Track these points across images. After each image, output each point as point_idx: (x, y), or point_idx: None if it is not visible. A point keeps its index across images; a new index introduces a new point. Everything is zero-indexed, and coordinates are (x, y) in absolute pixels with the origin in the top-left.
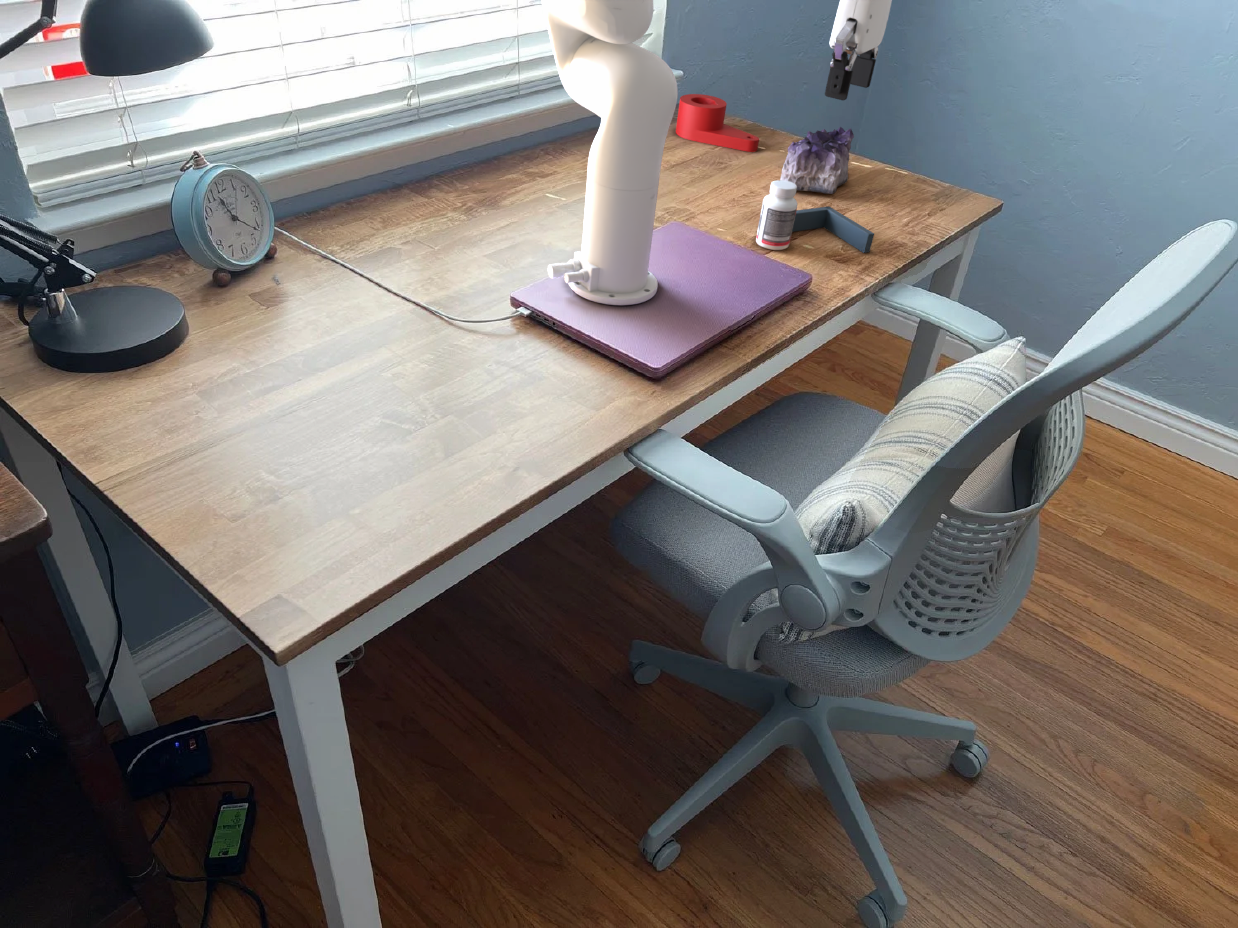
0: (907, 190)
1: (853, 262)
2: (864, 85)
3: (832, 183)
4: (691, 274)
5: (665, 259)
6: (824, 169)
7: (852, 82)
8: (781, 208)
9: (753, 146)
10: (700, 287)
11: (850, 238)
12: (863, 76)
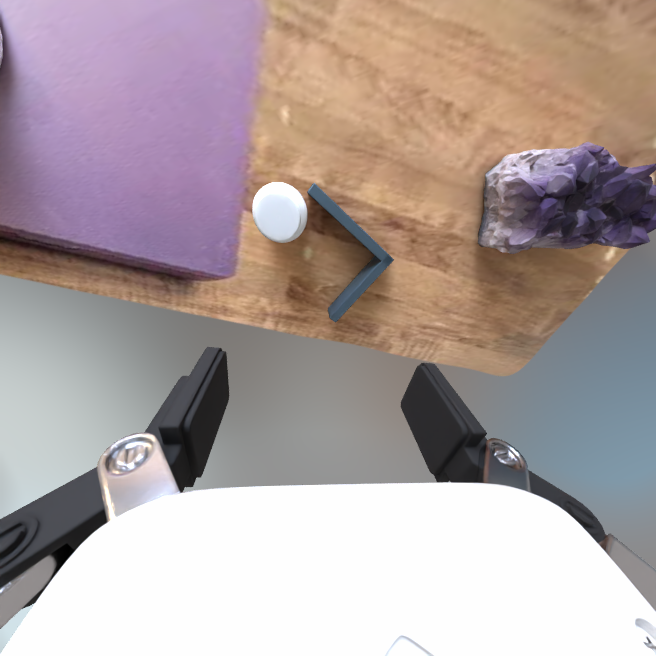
0: (529, 310)
1: (298, 304)
2: (404, 401)
3: (486, 242)
4: (96, 126)
5: (100, 53)
6: (507, 228)
7: (417, 374)
8: (255, 223)
9: None
10: (74, 156)
11: (344, 293)
12: (415, 414)
